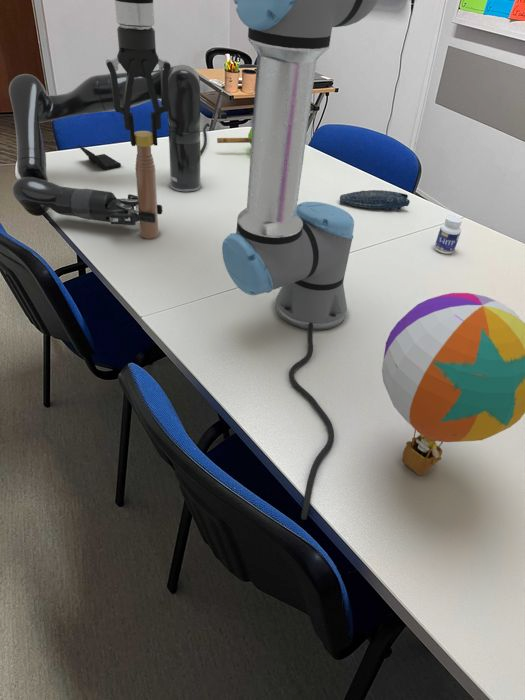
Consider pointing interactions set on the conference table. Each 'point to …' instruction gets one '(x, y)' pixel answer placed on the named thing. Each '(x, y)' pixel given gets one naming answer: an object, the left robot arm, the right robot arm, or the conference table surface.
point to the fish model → (376, 199)
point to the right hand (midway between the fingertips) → (144, 143)
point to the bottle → (146, 190)
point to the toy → (455, 372)
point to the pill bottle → (448, 235)
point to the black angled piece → (101, 159)
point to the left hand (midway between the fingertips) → (158, 214)
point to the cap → (143, 138)
